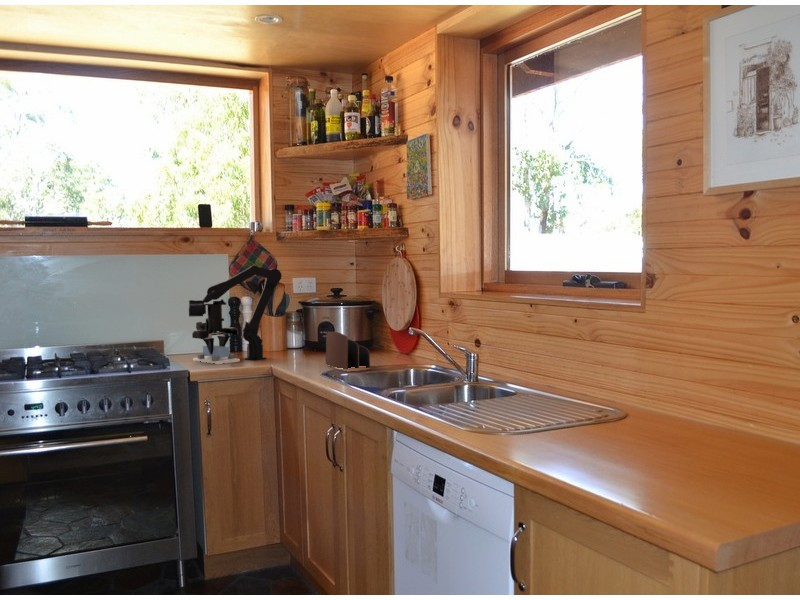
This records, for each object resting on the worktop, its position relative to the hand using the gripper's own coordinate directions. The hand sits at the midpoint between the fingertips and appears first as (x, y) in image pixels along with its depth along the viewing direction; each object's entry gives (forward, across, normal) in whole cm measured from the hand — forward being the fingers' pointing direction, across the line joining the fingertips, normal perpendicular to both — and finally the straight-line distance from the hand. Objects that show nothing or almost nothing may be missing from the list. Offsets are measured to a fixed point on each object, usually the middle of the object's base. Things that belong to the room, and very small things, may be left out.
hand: (216, 353), depth 296 cm
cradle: (+3, 0, 0) cm, 3 cm away
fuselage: (+1, 0, 0) cm, 1 cm away
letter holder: (+4, -20, +57) cm, 60 cm away
